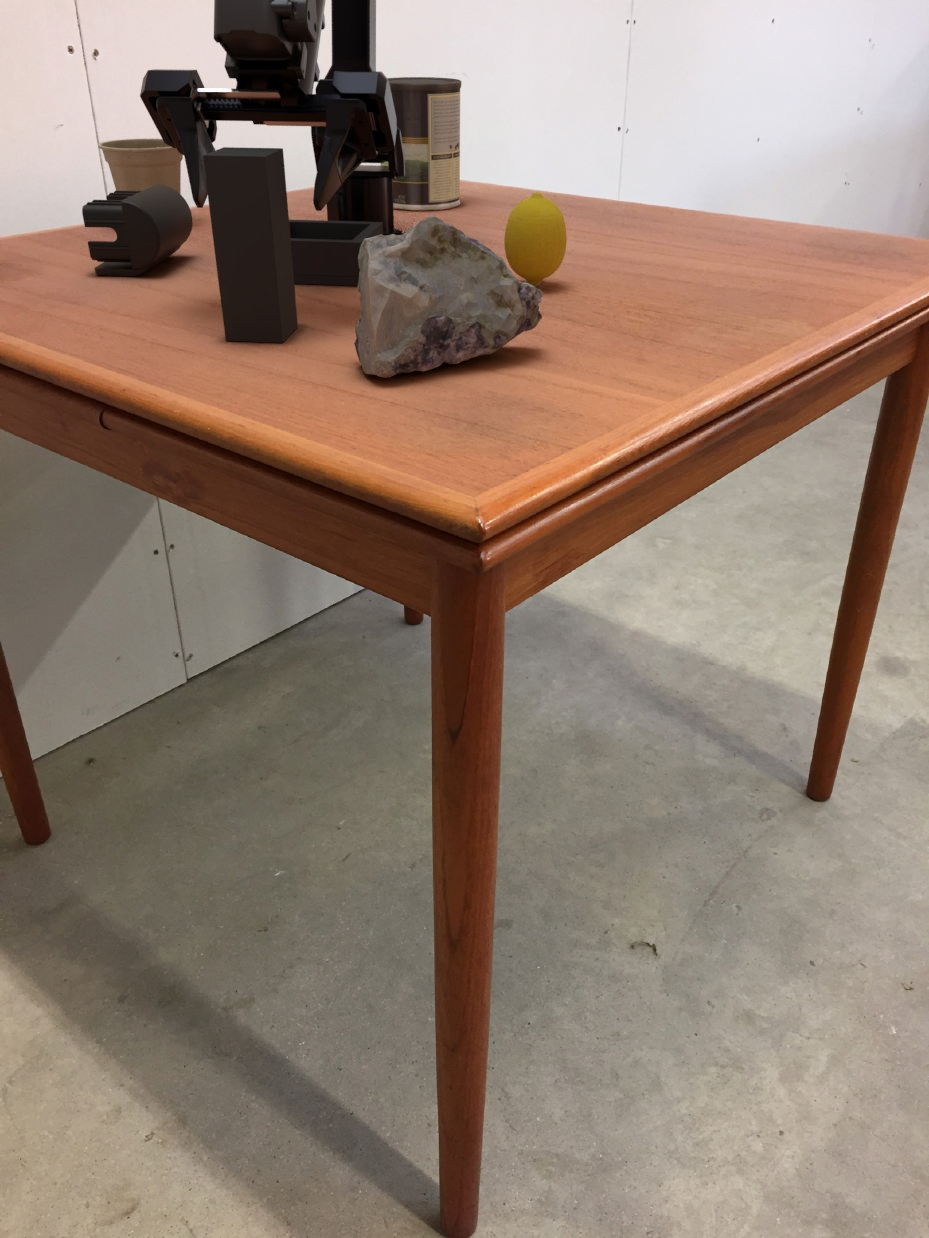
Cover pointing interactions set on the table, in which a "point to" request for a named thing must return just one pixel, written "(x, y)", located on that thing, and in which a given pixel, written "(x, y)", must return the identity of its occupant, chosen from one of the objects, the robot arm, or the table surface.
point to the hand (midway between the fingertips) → (257, 206)
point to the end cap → (138, 229)
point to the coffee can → (427, 142)
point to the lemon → (535, 238)
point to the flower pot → (142, 164)
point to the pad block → (252, 243)
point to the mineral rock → (436, 300)
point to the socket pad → (328, 250)
